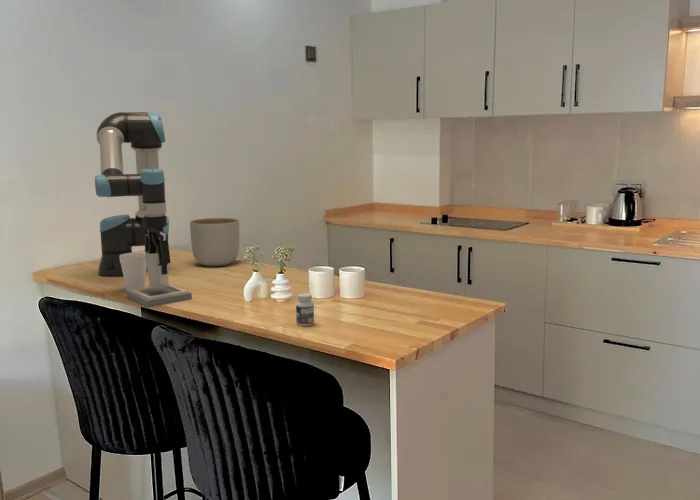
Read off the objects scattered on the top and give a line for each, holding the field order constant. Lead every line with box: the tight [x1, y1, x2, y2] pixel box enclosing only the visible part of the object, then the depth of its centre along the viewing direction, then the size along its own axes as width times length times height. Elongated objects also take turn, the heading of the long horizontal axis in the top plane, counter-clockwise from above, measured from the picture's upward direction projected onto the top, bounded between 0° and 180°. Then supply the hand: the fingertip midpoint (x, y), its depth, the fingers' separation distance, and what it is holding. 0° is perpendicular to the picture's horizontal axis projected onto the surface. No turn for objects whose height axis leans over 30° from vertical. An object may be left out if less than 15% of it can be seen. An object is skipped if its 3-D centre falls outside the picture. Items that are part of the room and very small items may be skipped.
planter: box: [189, 217, 240, 267], centre depth 282 cm, size 21×21×19 cm
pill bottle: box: [295, 292, 315, 327], centre depth 192 cm, size 5×5×9 cm
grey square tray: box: [127, 283, 193, 308], centre depth 224 cm, size 16×16×3 cm
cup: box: [144, 250, 170, 288], centre depth 222 cm, size 8×8×12 cm
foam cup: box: [119, 252, 147, 293], centre depth 236 cm, size 10×9×13 cm
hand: (158, 281), depth 223 cm, fingers closed on cup, 7 cm apart
